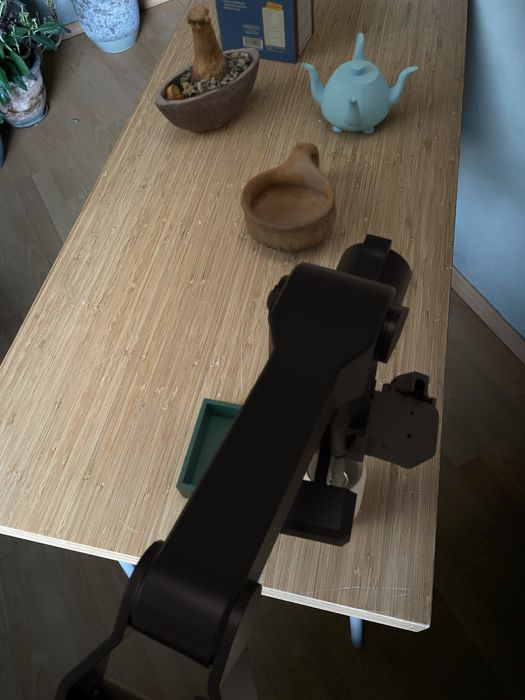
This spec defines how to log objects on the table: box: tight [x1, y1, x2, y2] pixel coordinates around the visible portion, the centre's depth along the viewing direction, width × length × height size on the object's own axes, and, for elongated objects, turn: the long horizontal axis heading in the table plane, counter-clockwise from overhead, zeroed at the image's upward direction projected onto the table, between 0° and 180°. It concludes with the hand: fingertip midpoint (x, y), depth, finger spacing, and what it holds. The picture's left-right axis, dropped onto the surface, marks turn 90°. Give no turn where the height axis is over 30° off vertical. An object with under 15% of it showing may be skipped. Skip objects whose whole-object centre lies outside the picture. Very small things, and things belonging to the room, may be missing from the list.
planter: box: [154, 4, 261, 134], centre depth 95 cm, size 15×17×20 cm
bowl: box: [239, 141, 338, 253], centre depth 86 cm, size 18×14×10 cm
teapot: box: [301, 32, 419, 134], centre depth 96 cm, size 13×13×10 cm
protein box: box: [214, 0, 315, 64], centre depth 107 cm, size 10×15×16 cm
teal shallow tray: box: [175, 397, 243, 500], centre depth 69 cm, size 11×11×4 cm
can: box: [303, 453, 367, 520], centre depth 62 cm, size 6×6×12 cm
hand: (329, 463), depth 58 cm, fingers open, 9 cm apart
